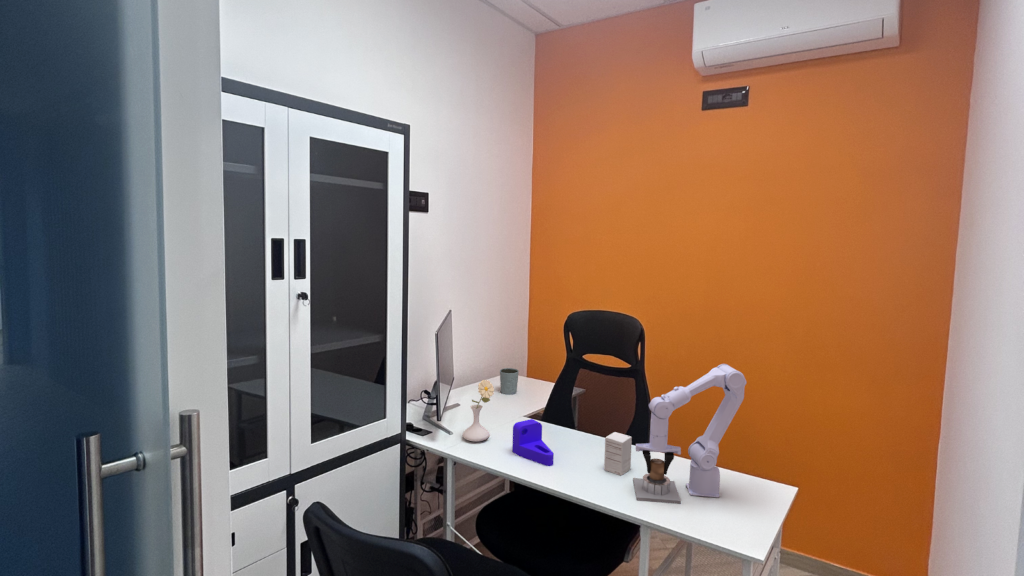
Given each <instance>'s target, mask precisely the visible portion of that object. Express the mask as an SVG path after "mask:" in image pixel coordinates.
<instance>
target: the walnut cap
mask: <svg viewBox="0 0 1024 576" xmlns="http://www.w3.org/2000/svg"><path fill="white" fill-rule="evenodd" d="M664 468H665V462H664V460H663V459H660V458H651V460H650V473H648V474H649V477H650V478H651V479H653V480H663V479H664V475H665V474H664Z"/></svg>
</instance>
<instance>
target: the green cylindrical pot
mask: <svg viewBox="0 0 1024 576" xmlns="http://www.w3.org/2000/svg"><path fill="white" fill-rule="evenodd" d="M519 372H520V371H519V370H518V369H516V368H513V367H505V368H504V367H503V368H501V369H499V383H500V385H499V386H500V393H501V394H502V395H506V396H507V395H508V396H510V395H511V396H512V395H515V394H517V392H518V391H517V390H518V382H519V374H520V373H519Z"/></svg>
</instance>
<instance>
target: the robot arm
mask: <svg viewBox="0 0 1024 576" xmlns="http://www.w3.org/2000/svg"><path fill="white" fill-rule="evenodd" d="M747 384H748V383H747V380H746V377H745V375H744V373H742V372H741V371H739V370H737V369H735V368H734V367H732V366H730V365H729V364H727V363H721V364H719V365H717V366H716V367H713V368H712V369H711V370H709V371H708V373H706V374H704V375H703V376H701V377H700V378H698V379H696V380H694V381H693V382H692V383H690V384H688V385H686V386H682V385H681V386H680V385H679V386H675V387H673V389H672V390H670V391H669V392H666V393H663V394H661V396H655V397H654V398H652V399H651V400H650V402H649V403H648V408H649V410H650V413H651V414H650V423H649V424H650V428H649V429H650V430H649V442H648V443H647V442H646V443H635V452H637V453H638V452H639V453H640V452H641V453H642V455H643V458H644V460H645V463H646V472H647V474H649V473H650V460H651V459H652V455H651V452H652V453H662V454H664V460H663V461H664V462H665V468H664V475H665V476H667V473H668V470H669V468H670V465H671V463H672V462H673V460H674V459H675V454H677V455H681V454H682V451H681V450H682V448H681V446H676V445H675V446H674V445H671V444H668V436H669V418H670V416H671V415H672V413H673V411H675V410H676V409H677V410H678V408H681V407H683V406H684V405H686V404H687V403H689V402H690V401H691V398H692V397H693V396H695V395H697V394H699V393H701V392H703V391H706V390H707V389H710V388H711V387H712V388H713V387H718V388H722V390H723V392H724V397H723V399H722V400H721V403H720V404H719V406H718V407H717V409H716V412H715V413H714V415H713V417H712V419H711V420H710V422H709V424H708V426H707V428H706V430H705V431H704V432H703V435H700V436H698V437H697V438H696V440H695V441H693V442H692V443H691V444H690V445H689V446H688V449H687V453H688V455H689V457H690V466H689V483H687V482H686V483H685V486H686V488H687V491H688V493H689V496H695V497H708V498H720V485H721V473H720V468H719V467H718V466H716V465H717V461H718V456H719V454H720V450H719V449H720V448H719V444H720V442H721V440H722V438H723V437H724V435H725V433H726V431H727V430H728V428H729V426H730V424H731V423H732V421H733V419H734V417H735V415H736V413H737V412H738V410H739V409H740V406H741V404H742V403H743V401H744V399H745V386H746V385H747Z"/></svg>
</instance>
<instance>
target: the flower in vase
mask: <svg viewBox="0 0 1024 576" xmlns="http://www.w3.org/2000/svg"><path fill="white" fill-rule="evenodd" d="M477 387H478V389H477V390H478V391H477V392H478V394H479V395H480V399H479V401H476V400H474V399H471V402H472V403H477V404H472V405H470V409H471V410H472V414H473V423H472V424H471V425H470V426H469V427H467V428H466V429H465V430H464V431H463V432H462V437H463V439H465V440H466V441H471V442H482V441H485V440H487V439H489V437H490V436H491V433H490V431H489V430H488V429H487V428H485V427H484V426H482V425H481V423H480V413H481V410H482V408H483V405H481V404H480V402H481V401H482V402H483V403H484V404H485V403H488V402H490V401H491V399H490V398H491V397H492V396H493V395H494V392H495V389H494V385H493V383H491V381H490V380H488V379H482V380H481V382H479V383H478V386H477Z"/></svg>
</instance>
